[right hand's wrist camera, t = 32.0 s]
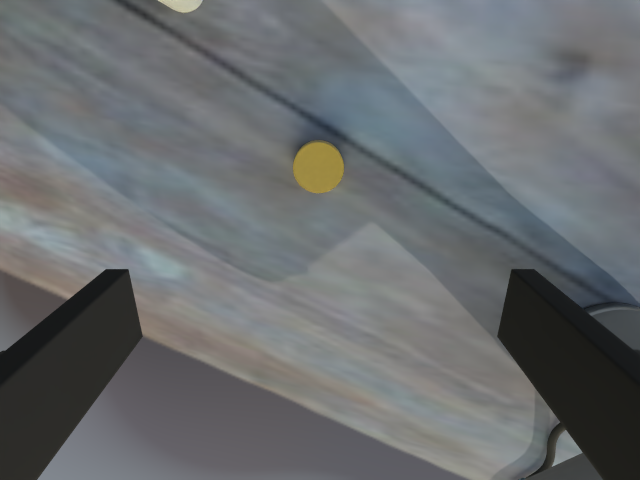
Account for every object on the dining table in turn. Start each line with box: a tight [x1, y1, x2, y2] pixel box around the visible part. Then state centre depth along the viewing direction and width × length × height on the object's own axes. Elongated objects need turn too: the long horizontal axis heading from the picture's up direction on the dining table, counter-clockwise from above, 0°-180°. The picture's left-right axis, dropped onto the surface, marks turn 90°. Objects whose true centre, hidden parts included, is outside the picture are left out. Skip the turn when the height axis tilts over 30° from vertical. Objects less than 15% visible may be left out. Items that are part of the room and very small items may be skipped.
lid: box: [293, 140, 344, 193], centre depth 36 cm, size 5×5×2 cm
